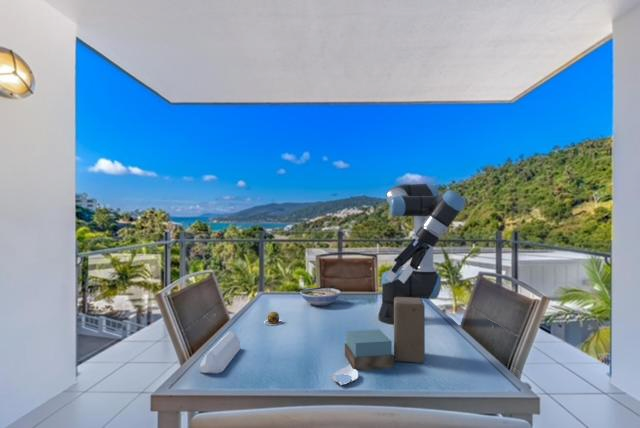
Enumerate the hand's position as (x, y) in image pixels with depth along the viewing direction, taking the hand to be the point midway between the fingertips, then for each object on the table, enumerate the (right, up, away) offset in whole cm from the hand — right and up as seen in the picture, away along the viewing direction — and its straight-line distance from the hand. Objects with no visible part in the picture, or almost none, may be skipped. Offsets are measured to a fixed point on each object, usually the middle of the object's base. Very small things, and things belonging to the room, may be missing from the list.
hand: (394, 280), depth 125 cm
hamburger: (-48, -28, +39) cm, 68 cm away
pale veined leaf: (-19, -27, -19) cm, 38 cm away
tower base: (-10, -27, -5) cm, 29 cm away
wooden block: (+4, -27, -2) cm, 27 cm away
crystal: (-60, -27, -4) cm, 66 cm away
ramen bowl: (-26, -27, +73) cm, 82 cm away
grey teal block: (-10, -22, -5) cm, 25 cm away
